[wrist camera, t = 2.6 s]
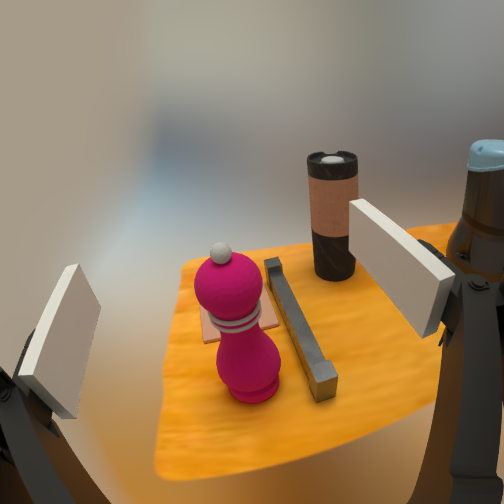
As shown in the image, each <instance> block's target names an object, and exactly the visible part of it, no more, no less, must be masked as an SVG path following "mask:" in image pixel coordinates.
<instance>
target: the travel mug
mask: <svg viewBox="0 0 504 504" xmlns="http://www.w3.org/2000/svg"><path fill="white" fill-rule="evenodd" d="M357 161H358V160H357V156H356V155H355V154H353V153H350V152H346V151H338V152H337V153H335V154H325V153H324V152H316V153H313V154H310V155H309V156H308V157H307V166H308V180H309V195H310V211H311V228H312V241H313V253H314V265H315V272H316V274H317V275H318V276H319V277H321V278H322V279H325V280H328V281H342V280H345V279H347V278H349V277H350V276H352V274H353V273H354V270H355V262H356V258H355V257H354V256H353V255H352V253H351V252H350V251H349V201H353V200H358V162H357Z"/></svg>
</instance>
